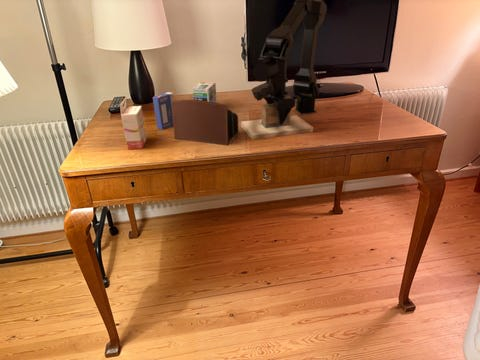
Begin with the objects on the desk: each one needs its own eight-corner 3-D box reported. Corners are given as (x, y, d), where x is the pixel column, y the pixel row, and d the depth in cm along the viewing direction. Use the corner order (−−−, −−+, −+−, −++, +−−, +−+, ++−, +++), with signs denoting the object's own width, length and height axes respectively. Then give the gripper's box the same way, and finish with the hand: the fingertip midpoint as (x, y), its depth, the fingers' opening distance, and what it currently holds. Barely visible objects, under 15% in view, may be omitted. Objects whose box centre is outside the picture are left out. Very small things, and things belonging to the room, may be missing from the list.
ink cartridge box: (143, 149, 110) (135, 104, 103) (127, 150, 110) (118, 105, 103) (147, 138, 118) (139, 96, 110) (132, 139, 117) (124, 97, 110)
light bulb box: (210, 116, 137) (208, 88, 131) (194, 115, 138) (191, 88, 133) (217, 107, 146) (215, 82, 141) (202, 107, 147) (200, 81, 142)
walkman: (162, 129, 125) (157, 97, 119) (157, 128, 126) (152, 96, 120) (177, 123, 130) (174, 91, 124) (172, 122, 132) (168, 90, 126)
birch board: (296, 118, 131) (296, 114, 130) (312, 131, 119) (313, 127, 119) (241, 125, 126) (240, 121, 125) (252, 139, 114) (252, 135, 114)
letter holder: (228, 146, 111) (226, 103, 104) (174, 139, 117) (169, 98, 110) (239, 135, 119) (237, 94, 112) (188, 129, 125) (183, 90, 118)
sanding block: (284, 120, 125) (285, 102, 121) (289, 125, 121) (290, 105, 118) (261, 123, 123) (261, 104, 119) (265, 128, 119) (265, 108, 116)
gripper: (245, 71, 120) (246, 114, 127) (263, 83, 104) (263, 132, 112) (276, 68, 122) (274, 111, 130) (297, 80, 106) (295, 128, 114)
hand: (276, 120), depth 121 cm, fingers open, 9 cm apart
